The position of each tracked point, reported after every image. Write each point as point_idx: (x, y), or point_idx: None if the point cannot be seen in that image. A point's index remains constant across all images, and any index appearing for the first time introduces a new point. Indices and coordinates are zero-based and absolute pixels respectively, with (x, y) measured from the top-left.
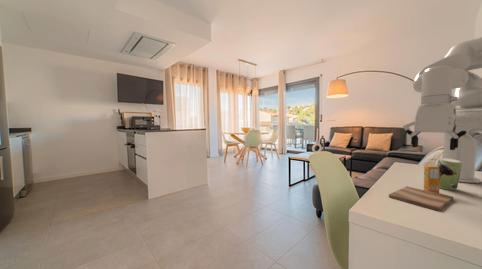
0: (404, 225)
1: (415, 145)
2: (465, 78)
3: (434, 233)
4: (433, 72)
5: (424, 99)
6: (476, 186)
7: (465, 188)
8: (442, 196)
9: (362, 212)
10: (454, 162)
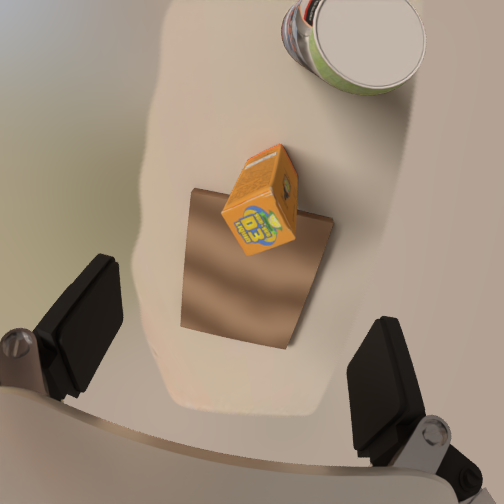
0: (241, 411)
1: (117, 323)
2: None
3: (274, 412)
4: None
5: None
6: None
7: None
8: (302, 247)
9: (186, 404)
10: (390, 86)
